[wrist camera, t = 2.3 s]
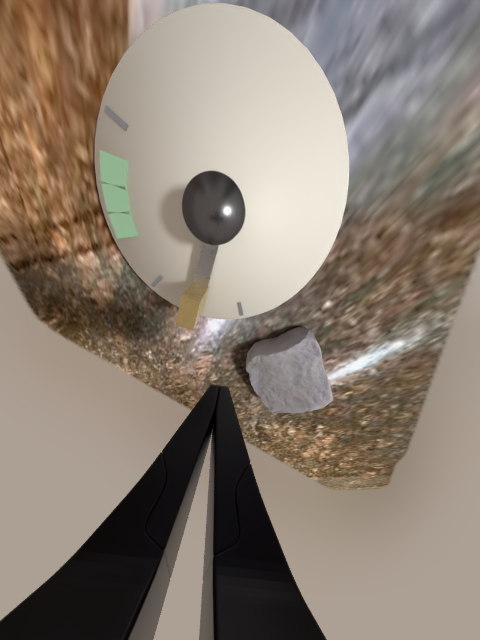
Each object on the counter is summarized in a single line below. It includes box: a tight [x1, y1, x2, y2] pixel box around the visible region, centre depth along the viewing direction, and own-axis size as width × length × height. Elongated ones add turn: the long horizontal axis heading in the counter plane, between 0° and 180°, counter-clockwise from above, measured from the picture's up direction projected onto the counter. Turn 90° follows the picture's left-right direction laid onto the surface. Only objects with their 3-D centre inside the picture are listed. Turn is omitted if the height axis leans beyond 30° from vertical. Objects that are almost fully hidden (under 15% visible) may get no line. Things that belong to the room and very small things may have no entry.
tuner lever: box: [176, 171, 246, 330], centre depth 15 cm, size 13×4×4 cm, turn 161°
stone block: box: [246, 327, 333, 413], centre depth 24 cm, size 12×5×10 cm
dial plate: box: [95, 3, 349, 319], centre depth 16 cm, size 21×21×1 cm
